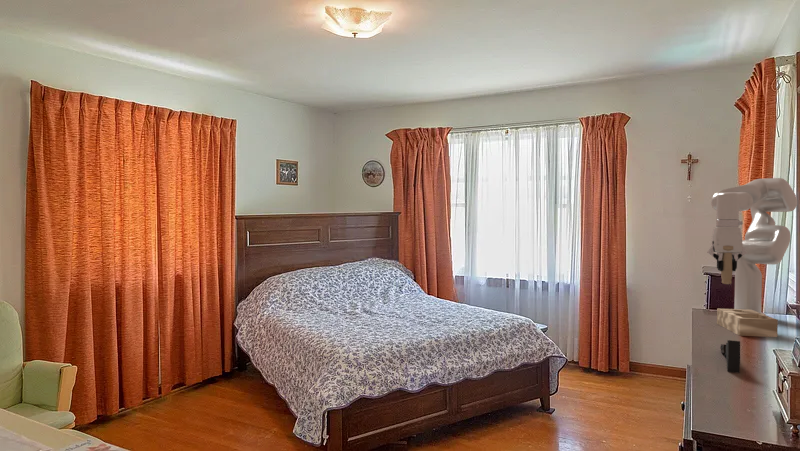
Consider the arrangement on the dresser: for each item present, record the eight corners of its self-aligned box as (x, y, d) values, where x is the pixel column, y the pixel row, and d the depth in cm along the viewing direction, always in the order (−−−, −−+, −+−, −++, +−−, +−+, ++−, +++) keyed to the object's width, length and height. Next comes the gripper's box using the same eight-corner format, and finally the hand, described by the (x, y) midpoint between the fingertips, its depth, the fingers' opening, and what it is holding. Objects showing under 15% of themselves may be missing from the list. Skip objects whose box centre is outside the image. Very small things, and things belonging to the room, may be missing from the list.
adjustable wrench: (729, 369, 167) (740, 373, 145) (719, 367, 169) (728, 371, 146) (729, 341, 169) (740, 341, 147) (719, 340, 170) (728, 340, 148)
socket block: (716, 323, 211) (717, 308, 211) (750, 325, 209) (751, 309, 209) (739, 335, 191) (739, 318, 191) (777, 337, 189) (777, 319, 189)
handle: (734, 283, 215) (735, 245, 215) (732, 285, 210) (733, 246, 210) (720, 282, 218) (721, 244, 218) (718, 284, 213) (718, 245, 212)
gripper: (746, 223, 215) (745, 269, 216) (700, 223, 218) (700, 269, 219) (755, 224, 208) (754, 272, 209) (707, 224, 211) (707, 271, 212)
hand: (726, 270), depth 214 cm, fingers closed on handle, 3 cm apart
